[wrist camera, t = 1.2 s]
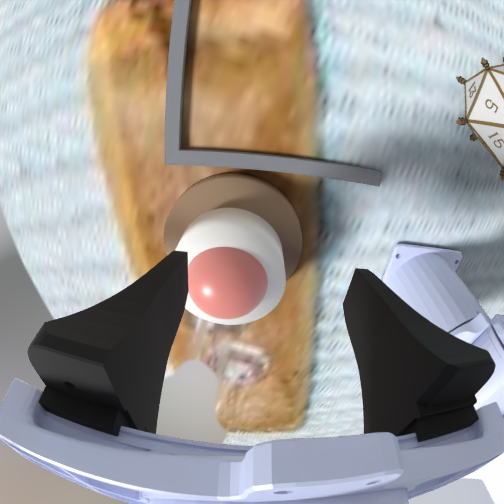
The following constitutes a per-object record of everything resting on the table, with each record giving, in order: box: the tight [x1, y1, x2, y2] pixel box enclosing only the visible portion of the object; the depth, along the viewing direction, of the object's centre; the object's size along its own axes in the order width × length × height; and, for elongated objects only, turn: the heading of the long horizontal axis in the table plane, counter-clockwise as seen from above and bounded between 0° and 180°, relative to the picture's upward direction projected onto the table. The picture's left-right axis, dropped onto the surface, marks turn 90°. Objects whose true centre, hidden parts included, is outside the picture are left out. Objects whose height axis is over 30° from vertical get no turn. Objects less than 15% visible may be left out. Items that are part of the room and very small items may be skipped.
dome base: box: [164, 173, 303, 281], centre depth 21 cm, size 10×10×2 cm
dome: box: [175, 208, 286, 325], centre depth 18 cm, size 7×7×5 cm
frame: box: [165, 0, 382, 186], centre depth 15 cm, size 17×15×1 cm
